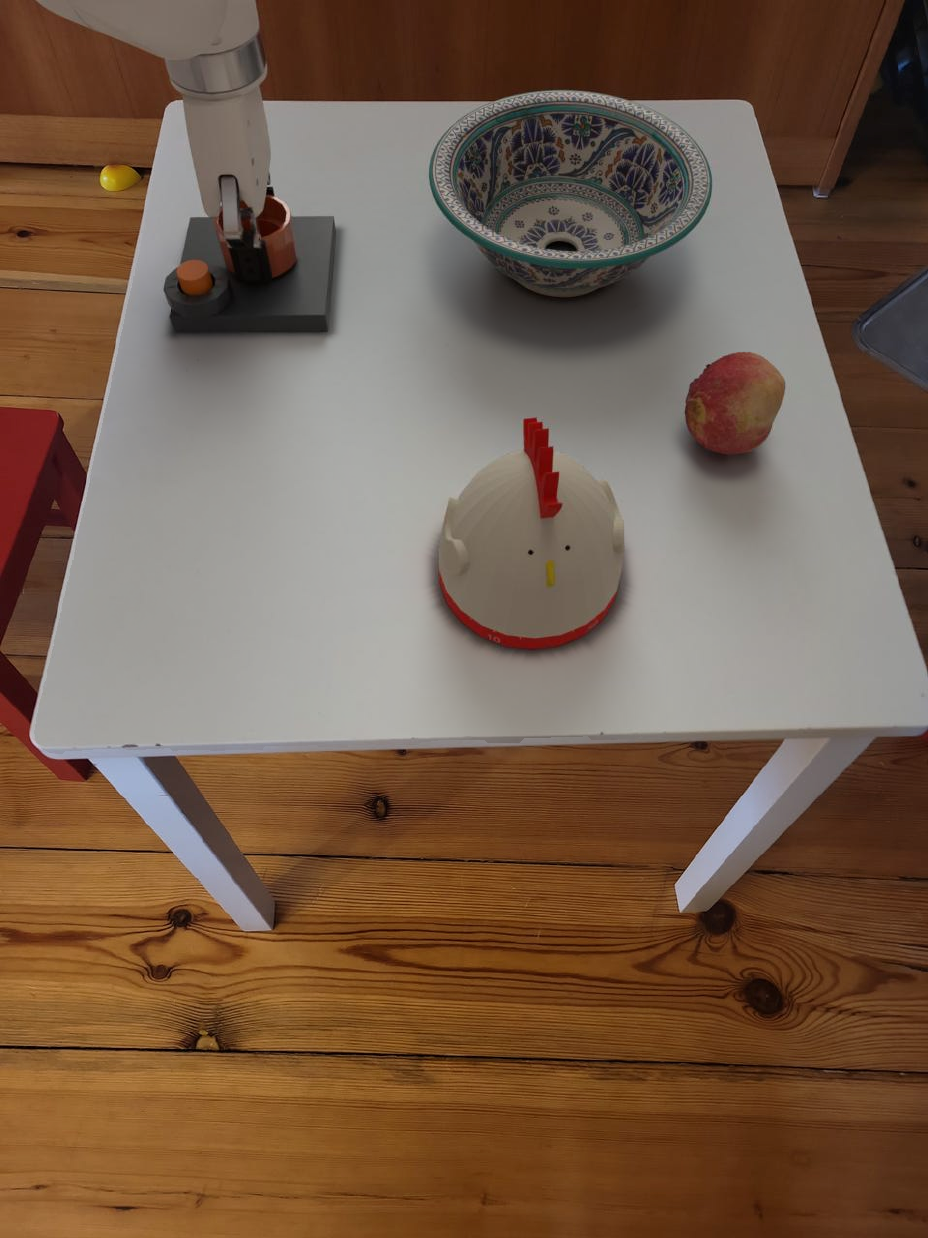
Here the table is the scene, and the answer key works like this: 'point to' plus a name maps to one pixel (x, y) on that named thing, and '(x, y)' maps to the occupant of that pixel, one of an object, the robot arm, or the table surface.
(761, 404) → the fruit
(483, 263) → the table surface
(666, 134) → the bowl
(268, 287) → the scale
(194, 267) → the button
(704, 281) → the table surface
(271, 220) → the terracotta bowl
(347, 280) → the table surface
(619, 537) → the kitchen timer
